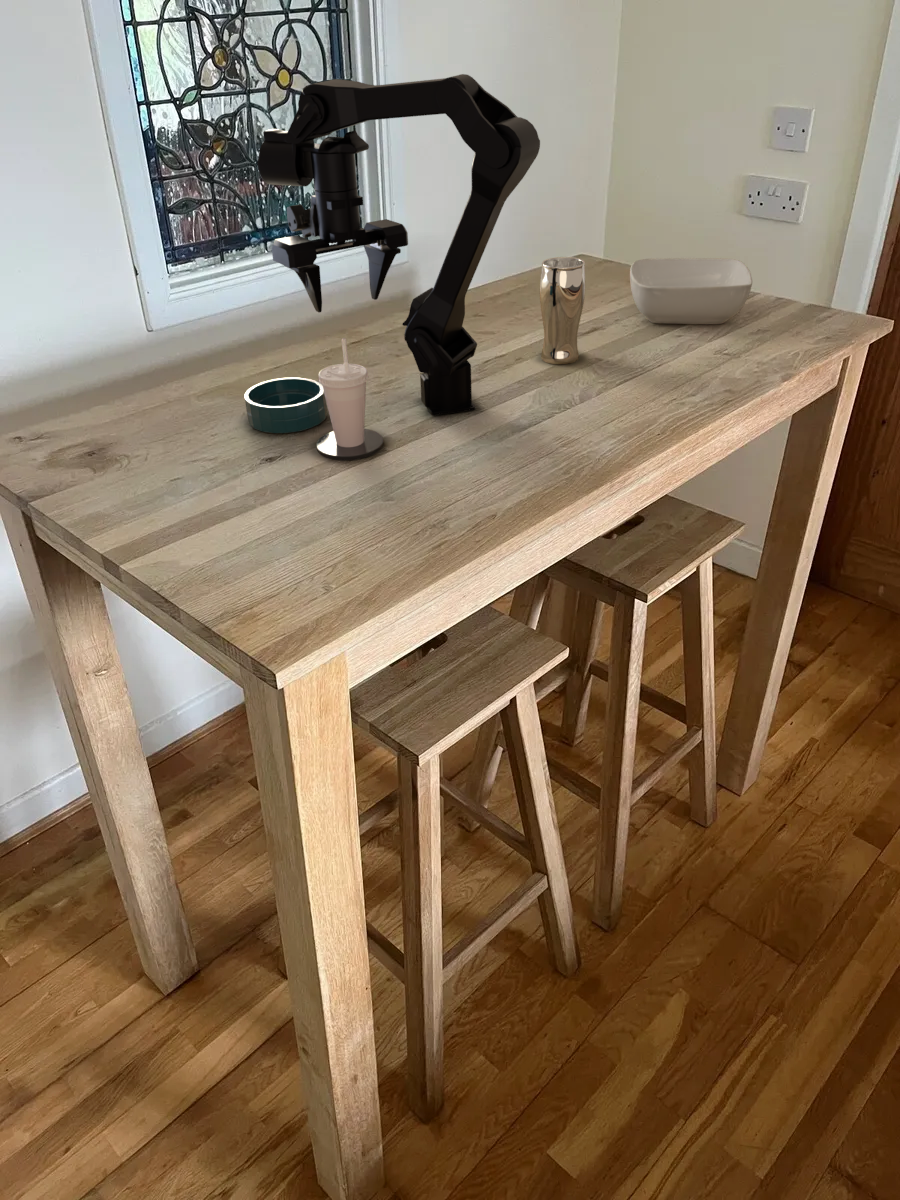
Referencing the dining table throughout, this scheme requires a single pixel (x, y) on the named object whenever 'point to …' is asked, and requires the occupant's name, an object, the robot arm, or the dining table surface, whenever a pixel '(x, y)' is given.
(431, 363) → the robot arm
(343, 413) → the smoothie
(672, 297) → the bowl
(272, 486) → the dining table surface
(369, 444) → the coaster
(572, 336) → the beer glass
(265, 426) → the teal faceted dish
